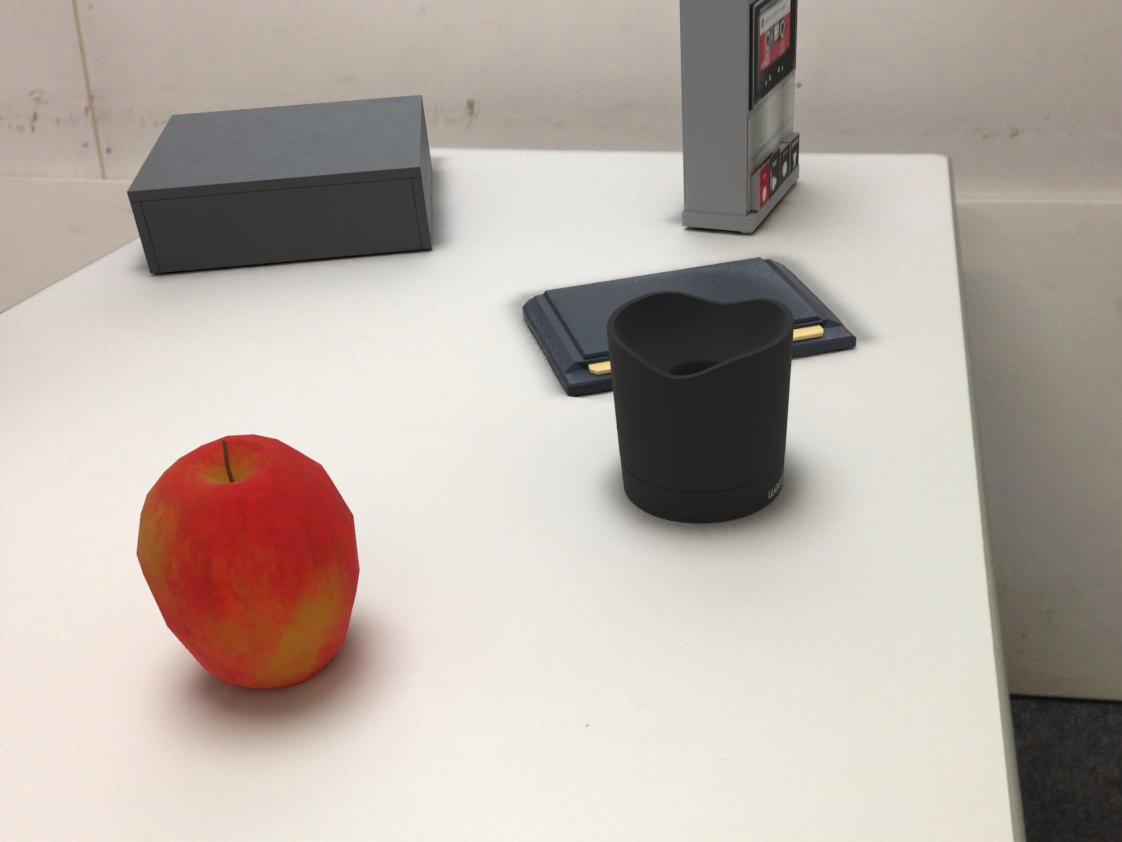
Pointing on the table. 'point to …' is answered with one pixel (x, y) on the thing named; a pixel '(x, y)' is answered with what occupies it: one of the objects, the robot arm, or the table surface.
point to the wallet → (583, 311)
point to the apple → (251, 560)
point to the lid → (286, 184)
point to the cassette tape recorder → (737, 110)
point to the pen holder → (701, 403)
